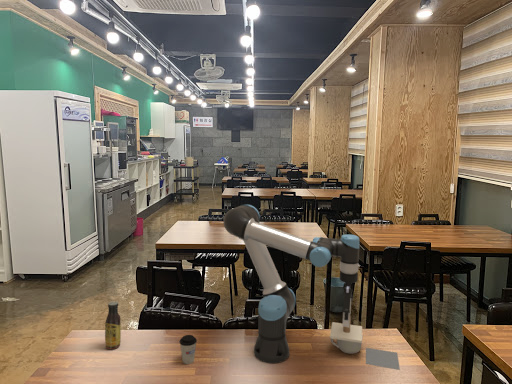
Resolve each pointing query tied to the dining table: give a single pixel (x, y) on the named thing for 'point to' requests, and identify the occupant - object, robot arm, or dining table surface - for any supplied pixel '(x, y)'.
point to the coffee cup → (188, 348)
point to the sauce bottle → (113, 327)
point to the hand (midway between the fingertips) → (346, 319)
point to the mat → (382, 358)
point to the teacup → (348, 346)
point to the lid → (346, 332)
